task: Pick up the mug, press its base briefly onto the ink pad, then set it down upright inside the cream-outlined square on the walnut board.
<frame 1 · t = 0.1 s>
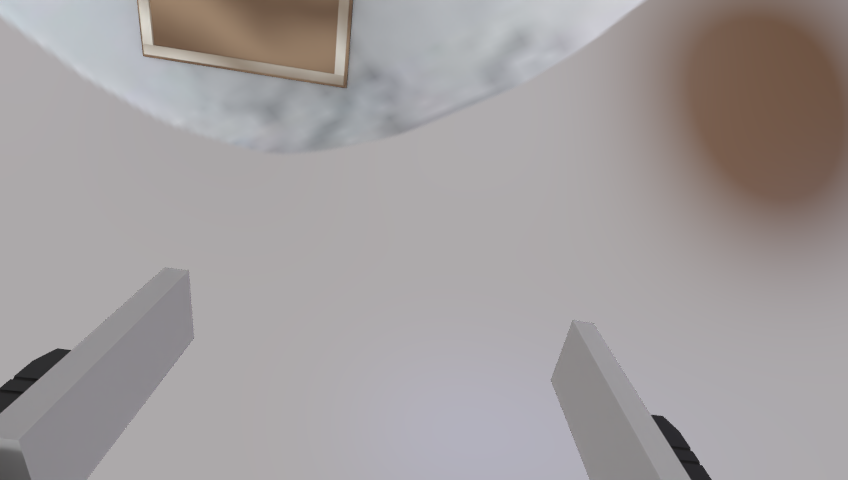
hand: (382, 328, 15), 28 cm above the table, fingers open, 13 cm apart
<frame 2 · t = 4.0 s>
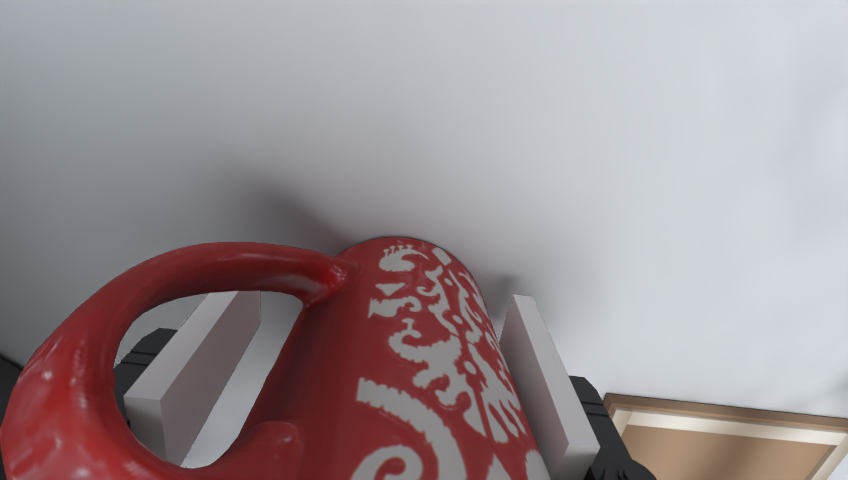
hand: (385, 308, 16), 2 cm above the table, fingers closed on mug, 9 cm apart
mug: (376, 280, 18), on the table, touching gripper
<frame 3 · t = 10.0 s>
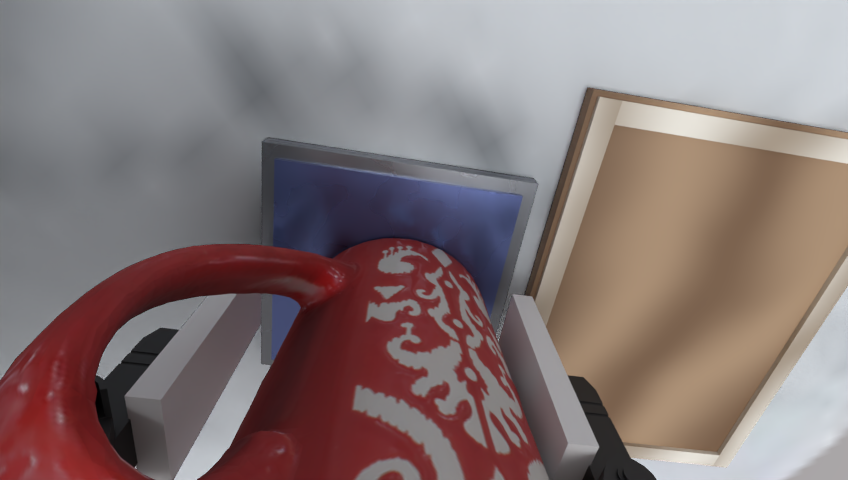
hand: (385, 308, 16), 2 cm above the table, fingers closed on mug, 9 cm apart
ink pad: (387, 274, 18), on the table
mug: (375, 281, 17), point 1 cm above the table, touching gripper, ink pad
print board: (667, 311, 19), on the table
when the fingers open (4 cm above the table, at t = 16.2 s): mug drops 1 cm, resting on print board.
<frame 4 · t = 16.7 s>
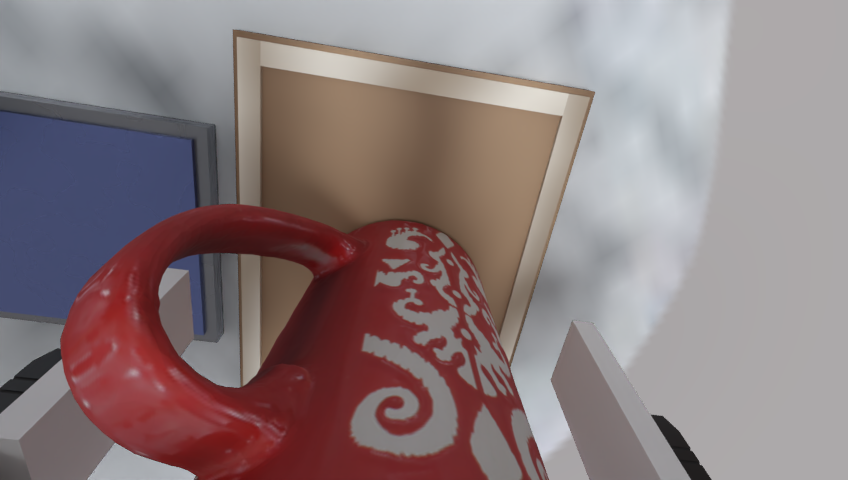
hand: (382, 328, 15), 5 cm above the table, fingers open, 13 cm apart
ink pad: (99, 224, 18), on the table
mug: (381, 261, 19), resting on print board
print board: (390, 263, 19), on the table
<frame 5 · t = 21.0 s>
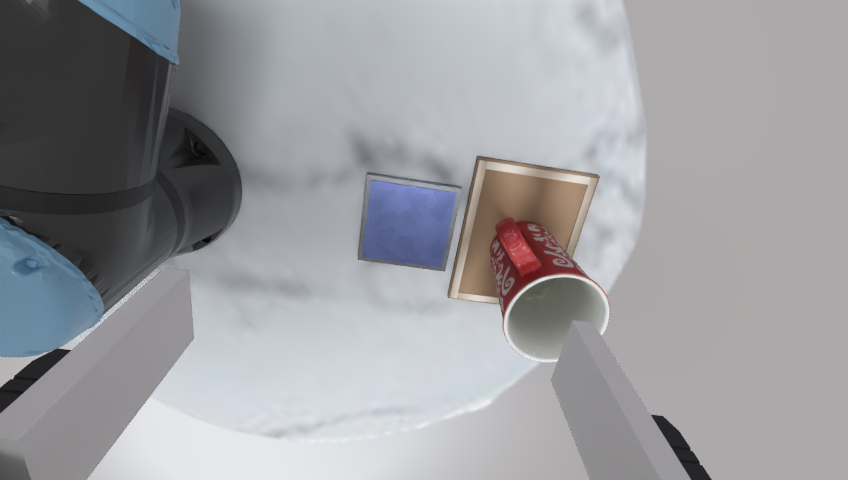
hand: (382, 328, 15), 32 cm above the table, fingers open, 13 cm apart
ink pad: (408, 223, 48), on the table
mug: (515, 237, 48), resting on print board
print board: (517, 238, 49), on the table
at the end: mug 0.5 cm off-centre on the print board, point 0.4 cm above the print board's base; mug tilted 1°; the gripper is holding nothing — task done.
